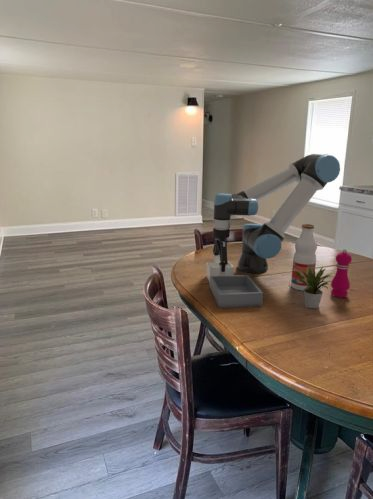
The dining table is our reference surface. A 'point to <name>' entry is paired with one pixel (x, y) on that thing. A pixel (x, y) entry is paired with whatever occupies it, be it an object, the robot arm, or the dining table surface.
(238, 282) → the slate crate
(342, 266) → the pepper mill
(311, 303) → the house plant
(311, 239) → the fruit juice
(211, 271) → the white crate
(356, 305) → the dining table surface
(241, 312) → the dining table surface
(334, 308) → the dining table surface
